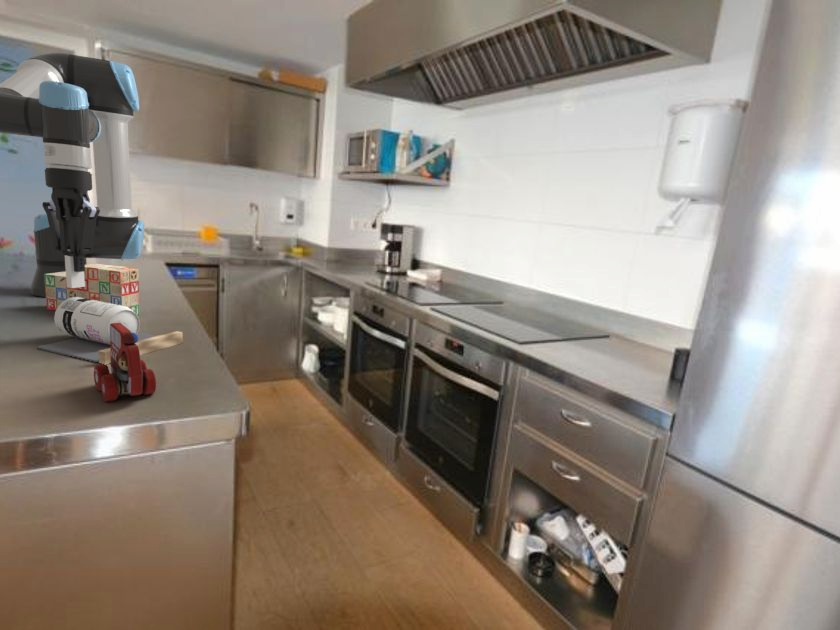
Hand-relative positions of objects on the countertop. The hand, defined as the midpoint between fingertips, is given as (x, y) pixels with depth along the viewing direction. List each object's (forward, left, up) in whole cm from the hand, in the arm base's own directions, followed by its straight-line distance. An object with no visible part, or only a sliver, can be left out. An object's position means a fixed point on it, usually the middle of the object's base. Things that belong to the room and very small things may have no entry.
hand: (75, 286), depth 100 cm
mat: (0, +9, -11) cm, 14 cm away
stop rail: (0, +18, -11) cm, 21 cm away
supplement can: (0, -2, -6) cm, 7 cm away
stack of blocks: (-17, -18, -11) cm, 27 cm away
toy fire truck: (+16, +32, -11) cm, 38 cm away
